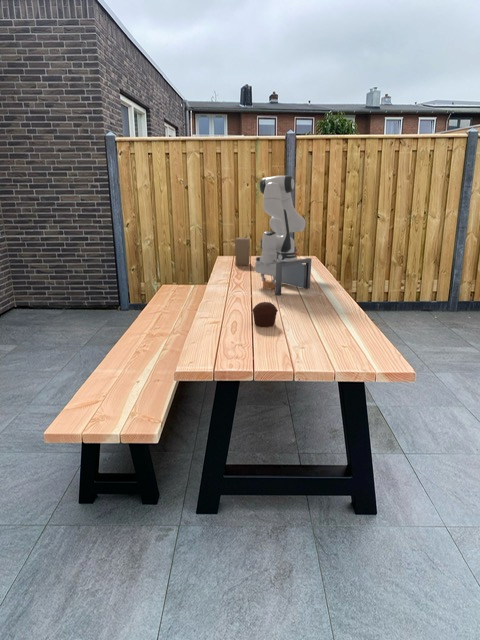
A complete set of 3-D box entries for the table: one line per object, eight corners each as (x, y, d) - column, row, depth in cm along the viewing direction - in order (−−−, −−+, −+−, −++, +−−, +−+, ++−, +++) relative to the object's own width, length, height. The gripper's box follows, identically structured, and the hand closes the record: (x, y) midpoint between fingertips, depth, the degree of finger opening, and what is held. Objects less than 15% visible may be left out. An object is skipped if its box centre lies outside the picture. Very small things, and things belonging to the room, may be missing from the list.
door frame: (306, 287, 275) (308, 258, 270) (309, 288, 273) (311, 258, 268) (275, 294, 258) (276, 263, 252) (278, 295, 256) (279, 263, 251)
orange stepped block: (268, 289, 271) (268, 282, 270) (262, 287, 275) (263, 281, 274) (282, 286, 279) (282, 279, 278) (276, 284, 282) (277, 278, 281)
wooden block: (249, 263, 349) (249, 237, 343) (248, 266, 340) (248, 239, 334) (236, 263, 350) (236, 237, 344) (235, 265, 341) (235, 239, 335)
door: (306, 288, 272) (307, 264, 267) (304, 288, 271) (305, 265, 267) (280, 281, 287) (280, 259, 283) (278, 282, 286) (279, 260, 282)
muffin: (266, 330, 198) (266, 308, 195) (246, 324, 205) (247, 303, 202) (282, 323, 207) (283, 302, 204) (263, 319, 214) (263, 298, 211)
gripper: (285, 261, 264) (284, 284, 268) (261, 256, 278) (260, 278, 282) (277, 262, 260) (277, 286, 264) (253, 257, 274) (253, 280, 278)
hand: (268, 282), depth 273 cm, fingers open, 7 cm apart
